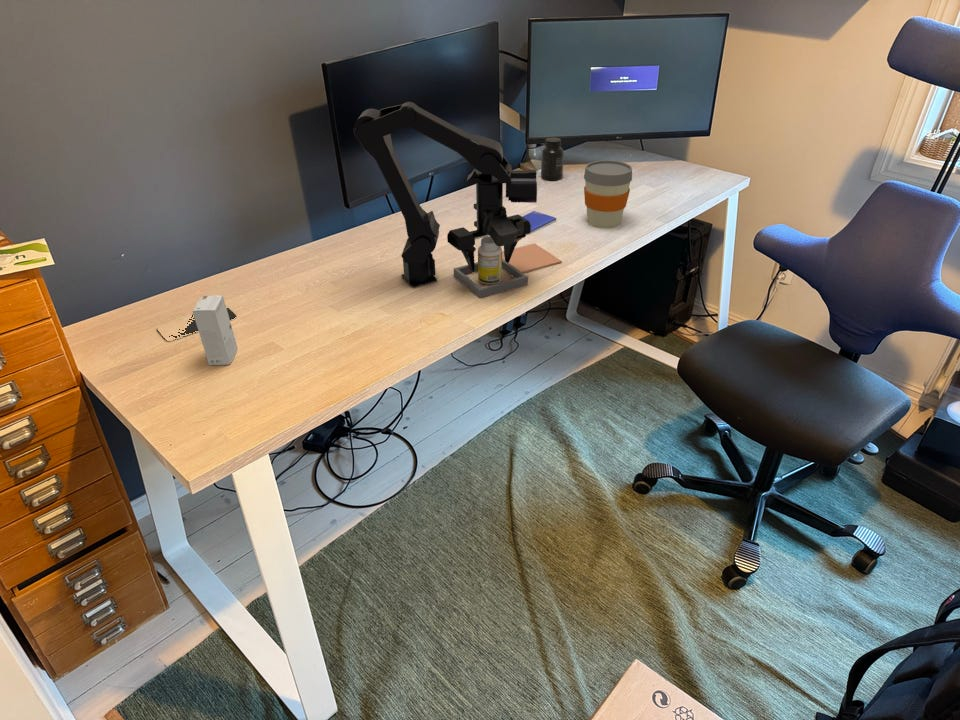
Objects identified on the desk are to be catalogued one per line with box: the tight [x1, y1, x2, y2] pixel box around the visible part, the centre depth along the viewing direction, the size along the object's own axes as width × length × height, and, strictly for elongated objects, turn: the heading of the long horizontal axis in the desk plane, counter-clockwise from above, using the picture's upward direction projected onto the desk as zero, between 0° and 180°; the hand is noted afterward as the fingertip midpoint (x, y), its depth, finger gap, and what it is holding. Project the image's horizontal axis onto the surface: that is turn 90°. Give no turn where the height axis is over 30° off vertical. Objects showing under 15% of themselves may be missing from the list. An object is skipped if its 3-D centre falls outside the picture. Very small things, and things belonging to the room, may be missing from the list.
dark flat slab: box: [169, 307, 237, 338], centre depth 143 cm, size 7×1×15 cm
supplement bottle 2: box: [540, 137, 565, 182], centre depth 212 cm, size 7×7×12 cm
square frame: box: [452, 258, 529, 299], centre depth 157 cm, size 13×13×2 cm
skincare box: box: [192, 294, 238, 366], centre depth 129 cm, size 6×4×12 cm
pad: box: [502, 243, 563, 274], centre depth 166 cm, size 12×12×1 cm
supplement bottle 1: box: [477, 236, 503, 286], centre depth 155 cm, size 6×6×10 cm
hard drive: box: [521, 210, 557, 236], centre depth 184 cm, size 2×8×12 cm
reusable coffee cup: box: [583, 159, 633, 229], centre depth 181 cm, size 13×13×15 cm
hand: (490, 266), depth 156 cm, fingers open, 9 cm apart
